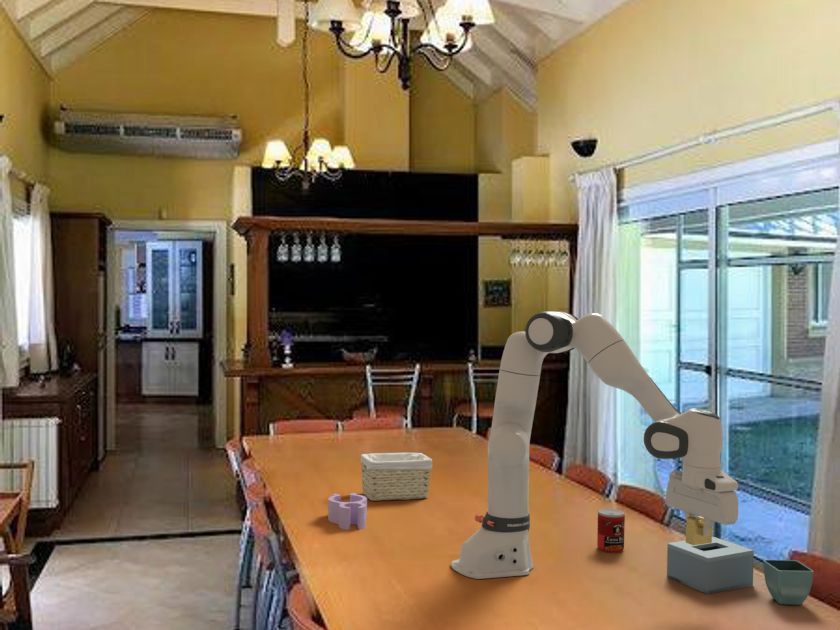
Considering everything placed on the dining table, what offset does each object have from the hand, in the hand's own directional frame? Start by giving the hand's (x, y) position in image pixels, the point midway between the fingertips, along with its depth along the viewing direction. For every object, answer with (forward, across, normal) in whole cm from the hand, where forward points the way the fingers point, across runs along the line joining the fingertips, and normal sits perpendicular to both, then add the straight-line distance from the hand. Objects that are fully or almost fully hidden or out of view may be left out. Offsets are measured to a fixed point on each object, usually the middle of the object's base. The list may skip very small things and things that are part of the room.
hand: (698, 533), depth 204 cm
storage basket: (+19, -127, -20) cm, 130 cm away
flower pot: (+16, +9, +21) cm, 28 cm away
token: (+2, 0, 0) cm, 2 cm away
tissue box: (+16, -10, +14) cm, 24 cm away
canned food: (+17, -43, +9) cm, 47 cm away
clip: (+19, -102, -49) cm, 114 cm away
